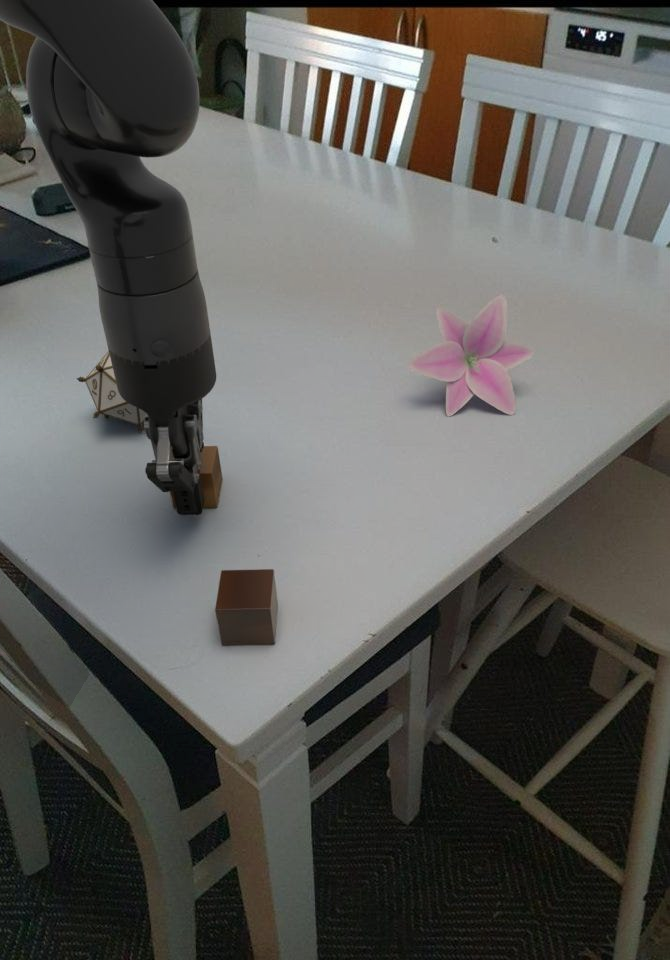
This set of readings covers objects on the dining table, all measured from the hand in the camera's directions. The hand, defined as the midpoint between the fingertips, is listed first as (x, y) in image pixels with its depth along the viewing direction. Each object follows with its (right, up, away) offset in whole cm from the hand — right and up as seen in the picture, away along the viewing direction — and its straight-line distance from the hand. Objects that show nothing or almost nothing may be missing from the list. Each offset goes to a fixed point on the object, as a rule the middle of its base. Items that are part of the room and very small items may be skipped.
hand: (191, 509), depth 70 cm
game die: (-8, +9, +14) cm, 19 cm away
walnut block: (+6, -8, -8) cm, 13 cm away
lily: (+27, +11, +15) cm, 33 cm away
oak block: (0, +1, +4) cm, 4 cm away
